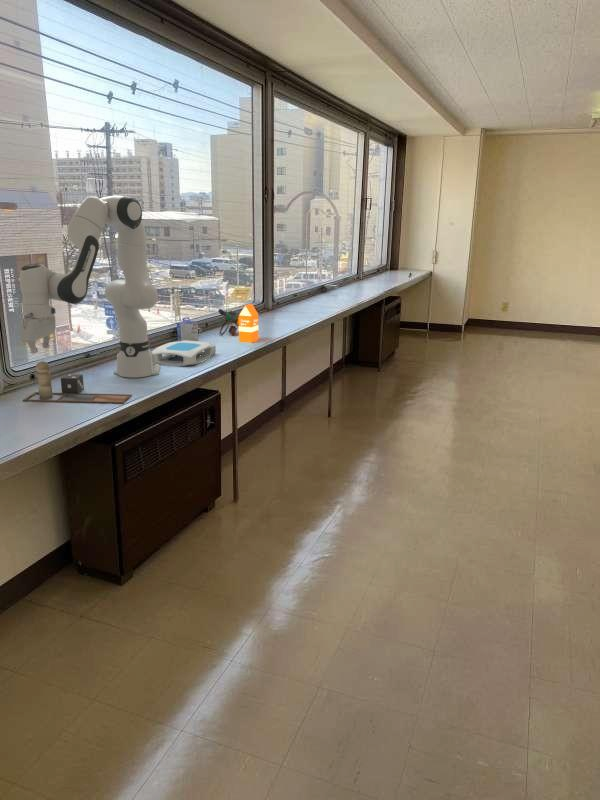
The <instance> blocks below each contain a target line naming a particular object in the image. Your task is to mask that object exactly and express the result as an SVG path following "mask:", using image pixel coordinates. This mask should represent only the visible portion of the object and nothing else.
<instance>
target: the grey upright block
mask: <svg viewBox="0 0 600 800" xmlns="http://www.w3.org/2000/svg"><path fill="white" fill-rule="evenodd" d="M182 320H183V321H182V322H177V323H176V329H177V330H176V331H177V342H178V341H185V340H187V341H199V325H198V324H199V323H198V322H197V321H194V320H191V319H190V317H188V316H187V317H186V316H185V317H182Z"/></svg>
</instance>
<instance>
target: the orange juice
mask: <svg viewBox="0 0 600 800" xmlns="http://www.w3.org/2000/svg"><path fill="white" fill-rule="evenodd" d="M238 318H239V326H238V342H239V341H240V342H239V343H243V342H250V343H249V344H253V343H252V342H254V341H256V340H258V341H259V313H258V311H257V310H256V308H255V306H254V305H253V303H249V304H246V305H244V307H243V308H242V310H241V311H240V313H239V315H238ZM256 342H257V341H256ZM254 343H255V342H254Z"/></svg>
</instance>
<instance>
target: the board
mask: <svg viewBox="0 0 600 800" xmlns="http://www.w3.org/2000/svg"><path fill="white" fill-rule="evenodd" d="M35 394H36V395H39V391H35V392H33V393H32V394H29V396H27V397H25V398H23V399H22V402H28V401H33V402H36V403H38V402H39V403H40V402H41V403H69V404H70V403H73V404H76V403H77V404H106V403H112V405H124V404H125V403H126V402H127V401H128V400H129V399H130V398H131V397H132V396H133V395H132V394H124V393H123V394H120V393H119V394H118V393H114V394H113V393H86V392H85V393H84V392H83V393H81V392H80V393H62V392H52V394H53V395H54V394H55V396H56V395H57V396H59V395H60V397H59V398H57V399H46V400H43V399H31V398H33V397H35V396H36V395H35ZM32 396H33V397H32ZM29 398H30V399H29ZM33 402H32V403H33Z"/></svg>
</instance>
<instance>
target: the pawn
mask: <svg viewBox="0 0 600 800" xmlns="http://www.w3.org/2000/svg"><path fill="white" fill-rule="evenodd" d="M35 371H36V377H37V386H38V392H39V394H38V395H39V400H52V399H53V398H54V396H53V395H52V393H53V386H52V379H51V377H52V376H51V366H50V364H49V362H47V361H39V362H37V364H36V365H35Z"/></svg>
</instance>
